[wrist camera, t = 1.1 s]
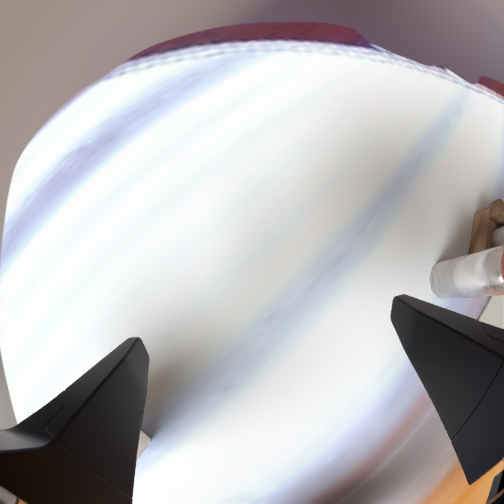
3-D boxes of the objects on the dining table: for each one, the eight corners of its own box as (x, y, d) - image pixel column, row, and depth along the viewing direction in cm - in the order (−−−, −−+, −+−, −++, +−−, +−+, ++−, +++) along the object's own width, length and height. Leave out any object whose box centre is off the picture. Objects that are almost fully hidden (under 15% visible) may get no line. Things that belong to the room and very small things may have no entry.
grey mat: (482, 407, 21) (484, 407, 20) (453, 355, 22) (455, 355, 22) (522, 338, 22) (524, 338, 22) (498, 280, 23) (500, 280, 23)
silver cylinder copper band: (450, 304, 23) (537, 301, 11) (425, 290, 23) (517, 280, 11) (459, 269, 24) (543, 252, 11) (435, 254, 24) (522, 227, 12)
